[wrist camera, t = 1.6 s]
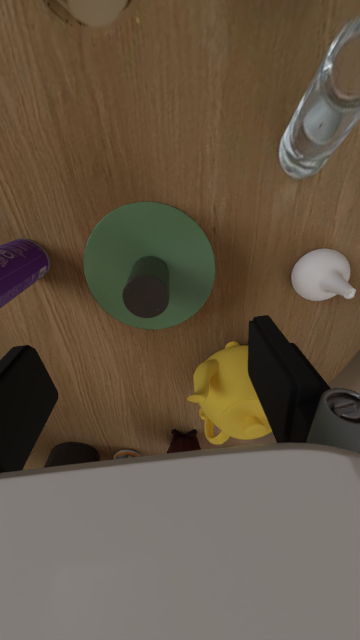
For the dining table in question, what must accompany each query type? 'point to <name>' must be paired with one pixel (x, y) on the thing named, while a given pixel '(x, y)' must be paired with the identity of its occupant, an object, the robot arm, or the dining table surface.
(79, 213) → the dining table surface
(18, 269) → the container
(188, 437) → the mate gourd
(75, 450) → the cup
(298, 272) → the garlic bulb
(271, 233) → the dining table surface
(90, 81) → the dining table surface
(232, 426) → the teapot
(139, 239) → the lid
